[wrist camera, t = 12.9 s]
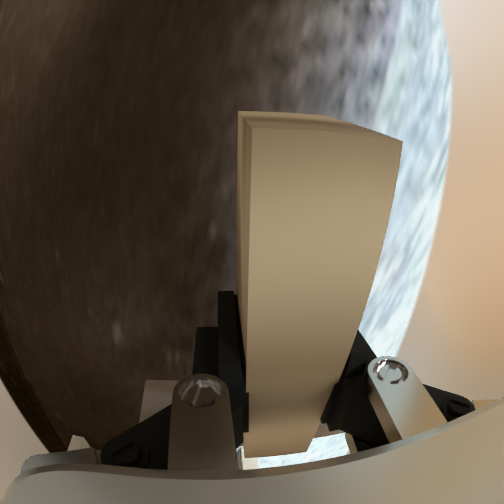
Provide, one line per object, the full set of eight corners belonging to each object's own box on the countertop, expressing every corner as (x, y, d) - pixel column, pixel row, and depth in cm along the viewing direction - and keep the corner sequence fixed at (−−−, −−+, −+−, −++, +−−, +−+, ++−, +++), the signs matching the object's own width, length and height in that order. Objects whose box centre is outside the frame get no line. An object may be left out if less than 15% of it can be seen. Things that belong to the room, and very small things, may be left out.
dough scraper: (86, 123, 7) (-1, 157, 3) (441, 135, 8) (531, 174, 4) (150, 390, 13) (141, 463, 10) (366, 376, 14) (391, 439, 11)
